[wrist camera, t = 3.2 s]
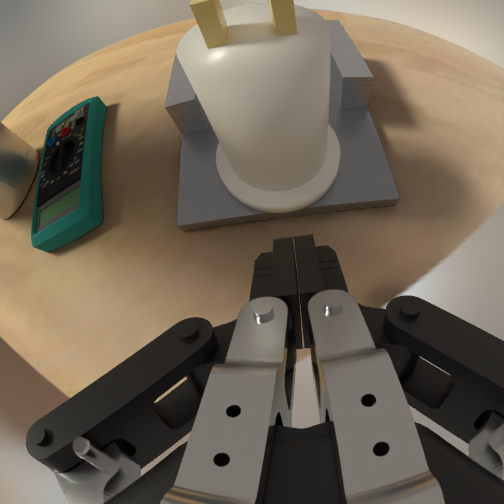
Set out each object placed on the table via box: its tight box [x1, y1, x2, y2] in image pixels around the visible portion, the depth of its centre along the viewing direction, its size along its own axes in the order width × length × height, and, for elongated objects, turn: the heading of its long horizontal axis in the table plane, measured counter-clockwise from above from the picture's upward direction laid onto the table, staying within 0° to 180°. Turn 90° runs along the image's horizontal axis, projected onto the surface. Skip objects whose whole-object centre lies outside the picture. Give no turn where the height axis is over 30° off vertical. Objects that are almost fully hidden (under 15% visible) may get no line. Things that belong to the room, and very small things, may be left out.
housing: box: [165, 20, 399, 231], centre depth 17 cm, size 13×22×4 cm, turn 4°
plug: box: [176, 0, 340, 213], centre depth 11 cm, size 7×7×11 cm
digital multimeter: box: [31, 96, 107, 252], centre depth 20 cm, size 7×15×3 cm, turn 16°
